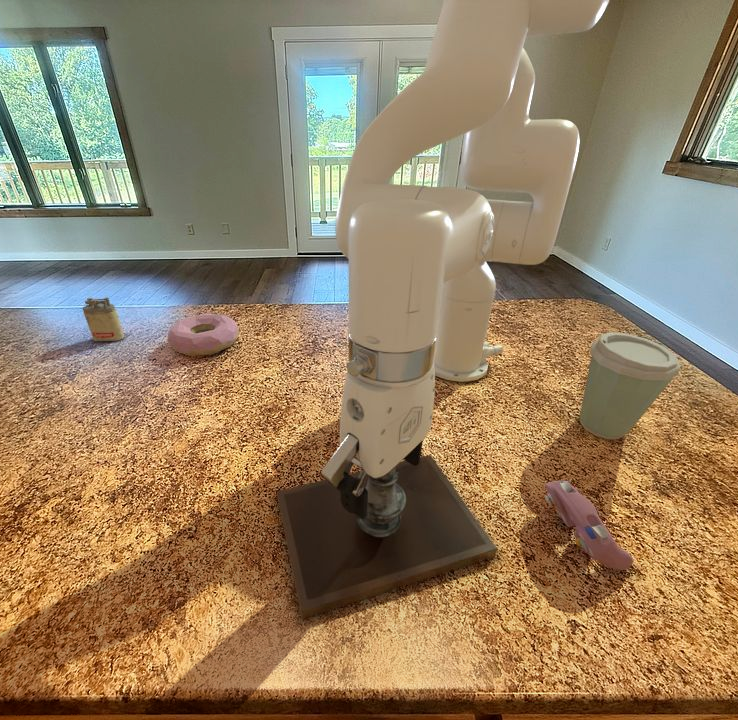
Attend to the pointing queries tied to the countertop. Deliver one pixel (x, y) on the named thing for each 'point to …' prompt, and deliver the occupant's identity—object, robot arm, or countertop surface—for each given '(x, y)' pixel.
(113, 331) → the lighter
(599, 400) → the disposable coffee cup
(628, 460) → the countertop surface
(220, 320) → the donut
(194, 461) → the countertop surface
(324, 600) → the board
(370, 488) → the stone chess piece
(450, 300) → the robot arm
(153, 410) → the countertop surface
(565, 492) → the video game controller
